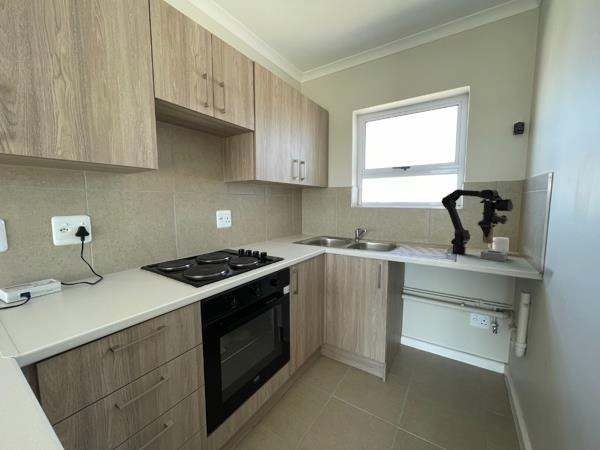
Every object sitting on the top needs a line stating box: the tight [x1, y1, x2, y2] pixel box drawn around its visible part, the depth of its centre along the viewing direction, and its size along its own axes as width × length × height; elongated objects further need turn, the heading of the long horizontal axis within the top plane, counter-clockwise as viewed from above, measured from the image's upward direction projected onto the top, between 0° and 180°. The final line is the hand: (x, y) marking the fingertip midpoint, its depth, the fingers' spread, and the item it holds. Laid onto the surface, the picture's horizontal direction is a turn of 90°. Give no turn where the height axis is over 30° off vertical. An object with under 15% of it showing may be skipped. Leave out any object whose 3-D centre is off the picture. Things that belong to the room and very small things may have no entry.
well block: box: [480, 249, 509, 263], centre depth 147 cm, size 11×11×4 cm
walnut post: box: [482, 226, 495, 245], centre depth 146 cm, size 4×4×10 cm
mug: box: [487, 236, 510, 253], centre depth 161 cm, size 12×8×10 cm
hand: (487, 237), depth 146 cm, fingers closed on walnut post, 4 cm apart
